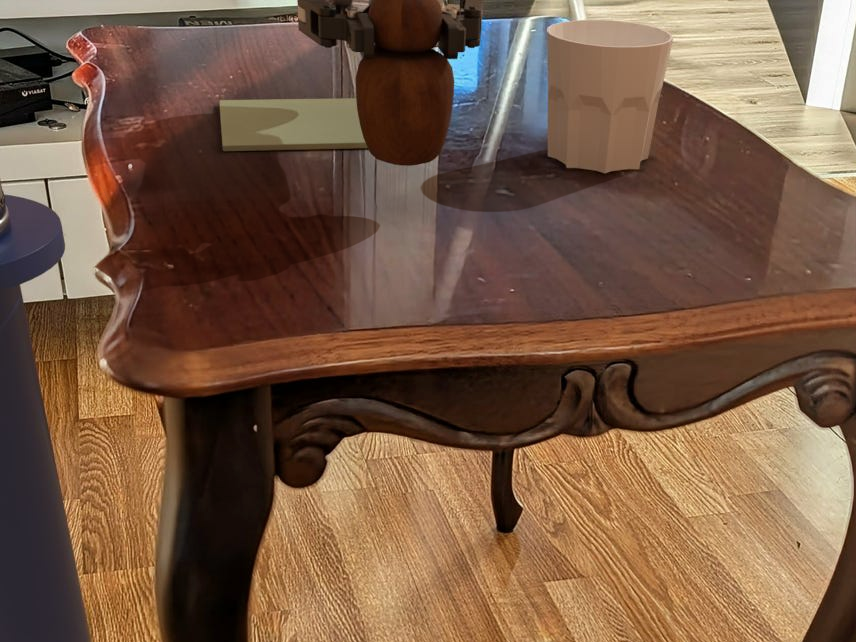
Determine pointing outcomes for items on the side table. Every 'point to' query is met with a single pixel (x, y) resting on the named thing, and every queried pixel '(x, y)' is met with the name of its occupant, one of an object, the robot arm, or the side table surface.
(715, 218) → the side table surface
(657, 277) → the side table surface
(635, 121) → the cup
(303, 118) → the mat
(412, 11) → the wooden figurine
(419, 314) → the side table surface
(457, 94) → the side table surface
